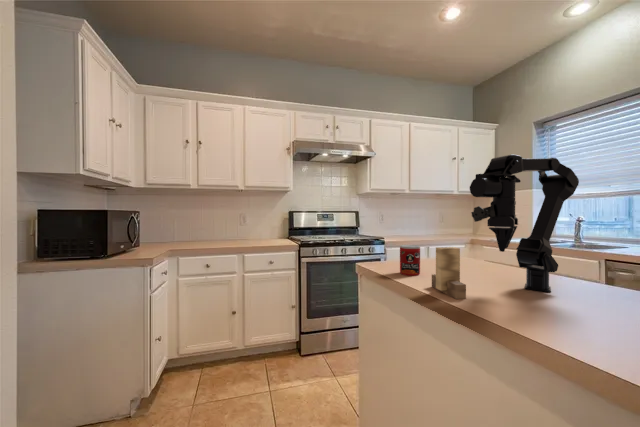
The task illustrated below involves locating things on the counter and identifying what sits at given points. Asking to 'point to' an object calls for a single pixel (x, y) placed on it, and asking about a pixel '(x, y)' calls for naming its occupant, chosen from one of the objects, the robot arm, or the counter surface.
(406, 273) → the canned food
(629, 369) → the counter surface
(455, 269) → the beige tall block
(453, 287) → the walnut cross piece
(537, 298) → the counter surface
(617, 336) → the counter surface
